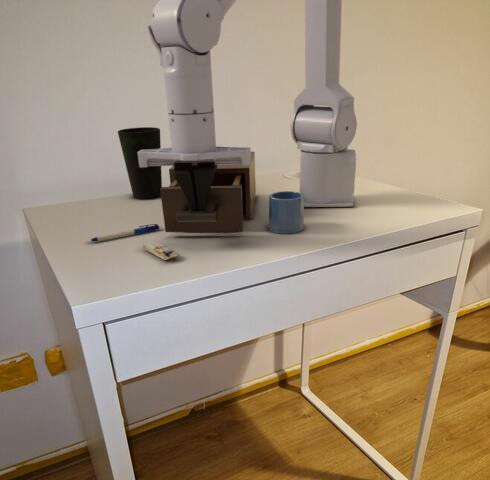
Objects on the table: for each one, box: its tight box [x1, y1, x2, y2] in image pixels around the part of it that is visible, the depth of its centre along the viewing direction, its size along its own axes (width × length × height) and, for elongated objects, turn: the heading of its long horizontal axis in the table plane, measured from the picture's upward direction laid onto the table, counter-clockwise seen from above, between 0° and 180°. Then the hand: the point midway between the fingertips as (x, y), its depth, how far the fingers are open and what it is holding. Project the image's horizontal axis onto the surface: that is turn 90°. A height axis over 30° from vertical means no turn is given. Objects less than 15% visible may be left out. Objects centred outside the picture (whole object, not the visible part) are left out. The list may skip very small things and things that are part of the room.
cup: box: [117, 126, 163, 200], centre depth 88 cm, size 8×8×12 cm
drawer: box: [160, 173, 245, 233], centre depth 70 cm, size 18×11×6 cm, turn 176°
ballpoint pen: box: [90, 223, 160, 242], centre depth 70 cm, size 10×1×1 cm, turn 122°
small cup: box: [268, 190, 305, 235], centre depth 70 cm, size 5×5×5 cm
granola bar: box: [141, 240, 179, 261], centre depth 62 cm, size 7×2×1 cm, turn 37°
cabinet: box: [168, 151, 257, 221], centre depth 80 cm, size 15×13×8 cm
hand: (199, 219), depth 65 cm, fingers closed, pressing on drawer
